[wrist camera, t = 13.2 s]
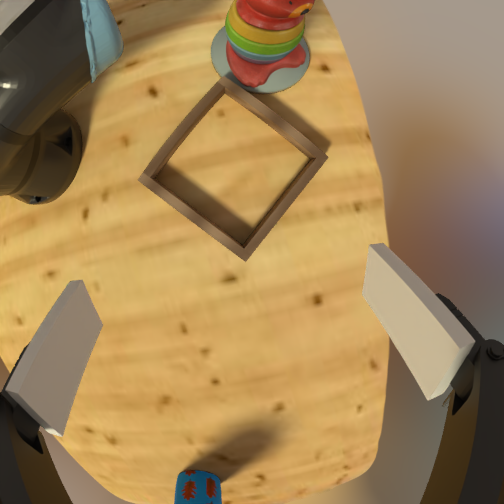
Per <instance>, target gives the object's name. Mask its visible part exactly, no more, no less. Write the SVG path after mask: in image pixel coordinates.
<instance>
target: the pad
mask: <svg viewBox="0 0 504 504" xmlns="http://www.w3.org/2000/svg"><path fill="white" fill-rule="evenodd" d="M227 40H228V39H227V36H226V32H225V26H224V27H223V28H222V29H221V30H219V32H218V33H217V34H216V36H215V37H214V39H213V42H212V46H211V58H212V63H213V66H214V68H215V70H216V72H217V73H218V74H219V76H220V77H221V78H222V77H223V76H225V77H226V78H228V79H229V80H231V81H232V82H234V83H235V84H237V85H238V86H240V87H241V88H242V89H244V90H245V91H247V92H250V93H256V94H271V93H277V92H281V91H284V90H286V89H288V88H290V87H292V86H293V85H295V84H296V83H297V82H298V81H299V80H300V79H301V78H302V76H303V75H304V74H305V72H306V70H307V68H308V65H309V50H308V47H307V44H306V42H305V41H304V39H303V37H302V39H301V41H300V42H299V44H300V45H301V46H302V47H303V49H304V50H305V53H306V57H305V62H304V64H303V65H300V66H299V67H297V68H281V69H278V70H276V71H274V72H273V73H272V74H271V75H270V76H269V78H268V80H267V82H266V83H265V84H263V85H259V86H258V87H255V88H253V87H251V86H245V85H243V84H242V83H241V82H240V81H239V80H238V79H237V78H236V77H235V75H234V74H233V72H232V71H231V69H230V66H229V64H228V61H227V57H226V44H227Z"/></svg>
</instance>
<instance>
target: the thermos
mask: <svg viewBox="0 0 504 504" xmlns="http://www.w3.org/2000/svg"><path fill="white" fill-rule="evenodd" d="M174 504H222V500H221V485H220V479H219V478H218V477H217V476H216V475H214V474H212V473H209V472H205V471H196V470H190V471H184V472H182V473H180V474H179V475H178V478H177V483H176V490H175V501H174Z"/></svg>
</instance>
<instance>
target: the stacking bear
mask: <svg viewBox="0 0 504 504" xmlns="http://www.w3.org/2000/svg"><path fill="white" fill-rule="evenodd" d="M314 1H315V0H234V1H233V3H232V5H231V7H230V9H229V11H228V14H227V17H226V22H225V32H226V36H227V39H228V40H227V44H226V57H227V61H228V64H229V66H230V69H231V71H232V72H233V74H234V75H235V77H236V78H237V79H238V80H239V81H240V82H241V83H242V84H243V85H245V86H251V87H253V88H255V87H258V86H259V85H263V84H265V83H266V82H267V80H268V78H269V76H270V75H271V74H272V73H273V72H274V71H276V70H278V69H281V68H297V67H299V66H300V65H303V64H304V62H305V57H306V53H305V50H304V49H303V47H302V46H301V45H300V44H299V42H300V41H301V39H302V36H303V33H304V28H305V13H307V12H308V11H309V10H311V8H312V7H313V4H314Z"/></svg>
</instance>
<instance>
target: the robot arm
mask: <svg viewBox="0 0 504 504" xmlns="http://www.w3.org/2000/svg"><path fill="white" fill-rule="evenodd" d="M123 47H124V45H123V39H122V36H121V33H120V31H119V28H118V26H117V23H116V21H115V18H114V16H113V14H112V12H111V9H110V7H109V5H108V3H107V1H106V0H0V196H4V195H10V196H12V197H14V198H16V199H18V200H20V201H22V202H25V203H27V204H33V205H37V204H45V203H49V202H51V201H53V200H55V199H57V198H58V197H59V196H61V195H62V194H63V193H64V192H65V191H66V189H67V188H68V187H69V185H70V184H71V182H72V180H73V179H74V177H75V174H76V172H77V169H78V167H79V163H80V159H81V153H82V137H81V132H80V128H79V126H78V124H77V122H76V120H75V119H74V117H73V116H72V115H70V114H69V113H68V112H66V111H63V110H61V108H62V107H63V106H64V105H65V104H66V103H67V102H69V101H70V100H71V99H72V98H73V97H74V96H75V95H76V94H77V93H79V92H80V91H81V90H82V89H83V88H84V87H86V86H87V85H88V84H89V83H90V82H91V83H93V82H94V81H95V80H96V78H97V76H99V75H100V74H101V73H102V72H103V71H105V70H106V69H107V68H108V67H110V66H111V65H112V64H113V63H115V62H116V61H117V60H118V59H119V58H120V56H121V54H122V52H123ZM362 295H363V297H364V298H365V300H366V301H367V303H368V304H369V306H370V307H371V309H372V310H373V312H374V313H375V315H376V316H377V318H378V319H379V321H380V322H381V324H382V325H383V327H384V329H385V330H386V332H387V333H388V335H389V336H390V338H391V339H392V341H393V343H394V344H395V346H396V348H397V349H398V351H399V352H400V354H401V355H402V357H403V359H404V361H405V362H406V364H407V366H408V367H409V369H410V371H411V372H412V374H413V376H414V377H415V379H416V381H417V382H418V384H419V386H420V388H421V389H422V391H423V393H424V394H425V397H426V398H427V400H430V399H432V398H435V397H437V396H439V395H441V394H443V393H444V391H445V390H446V389H447V387H448V386H449V384H451V386H452V387H453V390H452V392H451V393H450V395H449V396H448V397H447V399H446V400H445V401H444V403H443V405H442V407H445V406H446V404H447V403H448V401H449V406H448V412H447V417H446V422H445V426H444V431H443V435H442V439H441V443H440V447H439V450H438V454H437V457H436V460H435V464H434V467H433V470H432V473H431V476H430V479H429V482H428V484H427V487H426V490H425V492H424V495H423V497H422V500H421V502H420V504H504V345H503V344H502V343H500V342H499V341H496V340H492V339H489V340H485V339H484V338H483V337H482V336H481V335H480V334H479V333H478V331H477V330H476V329H475V328H474V327H473V326H472V324H471V323H470V322H469V321H468V320H467V319H466V317H464V316H463V314H462V313H461V312H460V311H459V310H457V307H455V305H454V304H453V303H452V302H451V301H450V300H449V299H447V298H446V297H444V296H442V295H441V294H439V293H438V294H434V293H433V292H432V291H431V290H430V289H429V288H428V287H427V286H426V285H425V284H424V282H422V280H421V279H420V278H419V277H418V276H417V275H416V274H415V273H414V272H413V271H412V270H411V269H410V268H409V267H408V266H407V265H406V264H404V262H403V261H402V260H400V259H399V258H398V257H397V256H396V255H395V254H394V253H393V252H392V251H391V250H390V249H389V248H388V247H387V246H386V245H385V244H384V243H379V244H371V245H369V249H368V257H367V265H366V272H365V279H364V285H363V291H362ZM102 326H103V324H102V322H101V320H100V318H99V316H98V313H97V311H96V309H95V307H94V305H93V303H92V301H91V298H90V296H89V294H88V292H87V289H86V287H85V285H84V282H83V280H76V281H70V282H69V284H68V285H67V286H66V288H65V289H64V291H63V292H62V294H61V295H60V296H59V298H58V299H57V301H56V302H55V304H54V305H53V307H52V308H51V310H50V311H49V313H48V314H47V316H46V317H45V319H44V320H43V322H42V324H41V325H40V327H39V328H38V330H37V332H36V333H35V335H34V337H33V338H32V340H31V342H30V343H29V344H28V345H27V346H26V347H25V348H24V349H23V351H22V353H21V355H20V356H19V359H18V360H17V362H16V364H15V367H14V368H13V369H12V371H11V373H10V376H9V377H8V379H7V382H6V383H5V385H4V388H3V390H2V392H1V393H0V504H73V503H72V501H71V500H70V497H69V496H68V494H67V492H66V490H65V488H64V486H63V484H62V482H61V479H60V477H59V475H58V473H57V471H56V468H55V466H54V463H53V461H52V458H51V456H50V453H49V451H48V448H47V446H46V443H45V440H44V437H43V435H42V433H41V432H40V431H39V427H40V426H42V427H43V428H44V429H45V430H46V431H47V432H48V433H51V434H54V435H58V436H62V437H63V434H64V430H65V427H66V424H67V420H68V417H69V414H70V410H71V407H72V404H73V401H74V398H75V395H76V392H77V389H78V387H79V384H80V381H81V378H82V376H83V373H84V370H85V368H86V365H87V362H88V360H89V357H90V355H91V352H92V350H93V347H94V345H95V343H96V340H97V338H98V335H99V333H100V331H101V328H102Z"/></svg>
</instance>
